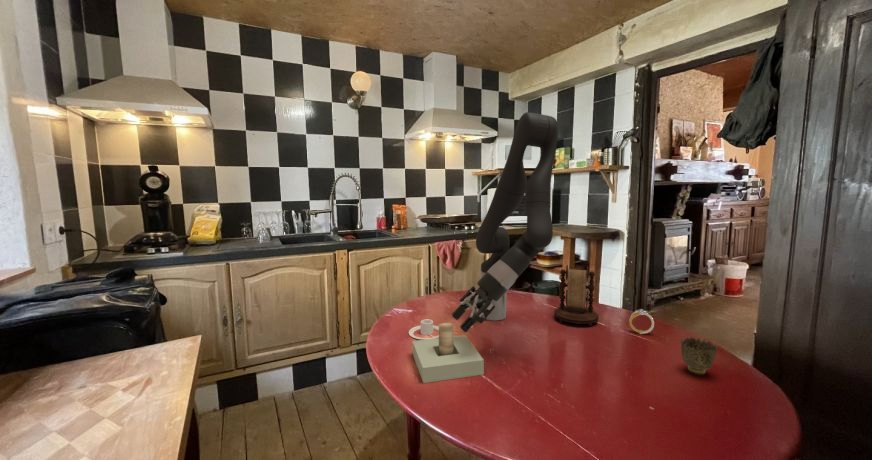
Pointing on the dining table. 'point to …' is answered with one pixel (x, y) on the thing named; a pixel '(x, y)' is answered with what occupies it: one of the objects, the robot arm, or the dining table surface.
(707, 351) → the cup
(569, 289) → the scroll
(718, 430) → the dining table surface
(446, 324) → the birch peg
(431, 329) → the candle holder
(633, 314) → the ring
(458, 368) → the square hole plate
